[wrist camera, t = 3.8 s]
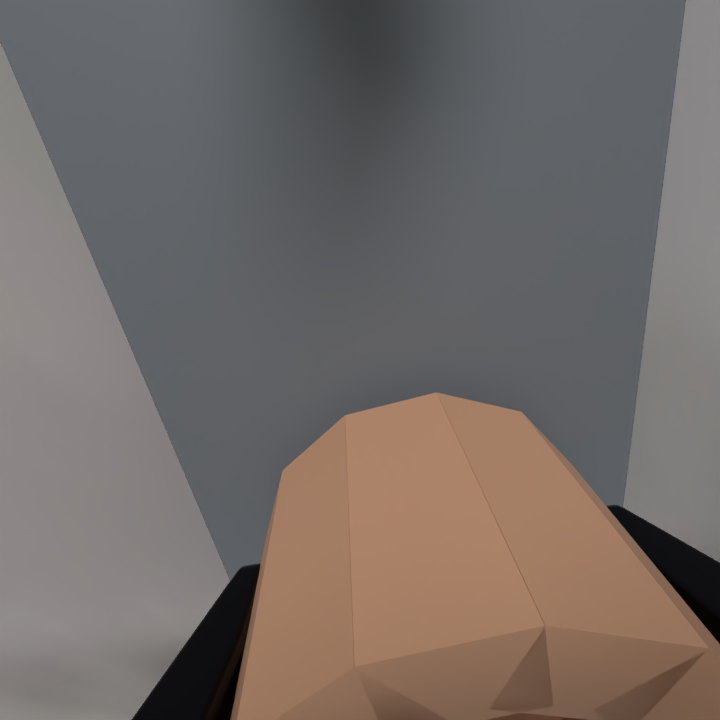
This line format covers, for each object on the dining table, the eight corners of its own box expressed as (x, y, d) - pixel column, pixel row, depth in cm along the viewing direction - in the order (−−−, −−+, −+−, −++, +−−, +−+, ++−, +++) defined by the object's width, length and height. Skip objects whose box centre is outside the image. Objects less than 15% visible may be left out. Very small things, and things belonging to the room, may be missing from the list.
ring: (629, 436, 8) (899, 674, 4) (500, 642, 10) (597, 915, 6) (309, 363, 7) (277, 588, 3) (247, 608, 9) (187, 907, 5)
